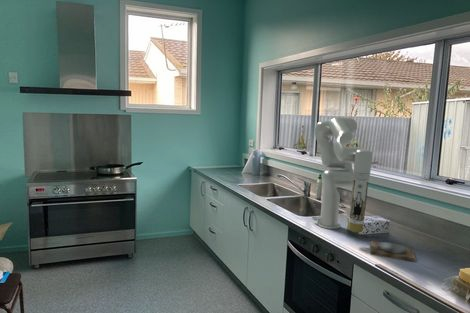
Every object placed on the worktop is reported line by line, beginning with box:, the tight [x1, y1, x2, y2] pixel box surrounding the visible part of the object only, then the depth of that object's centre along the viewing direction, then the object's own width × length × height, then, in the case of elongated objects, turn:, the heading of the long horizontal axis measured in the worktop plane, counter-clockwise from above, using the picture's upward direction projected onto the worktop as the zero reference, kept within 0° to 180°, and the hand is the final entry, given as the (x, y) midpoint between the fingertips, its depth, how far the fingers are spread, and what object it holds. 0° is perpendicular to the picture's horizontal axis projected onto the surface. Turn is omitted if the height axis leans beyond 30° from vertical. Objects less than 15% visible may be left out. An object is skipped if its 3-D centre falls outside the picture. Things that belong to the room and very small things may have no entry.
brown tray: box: [370, 240, 416, 263], centre depth 166 cm, size 18×15×2 cm
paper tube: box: [347, 179, 370, 233], centre depth 171 cm, size 7×7×25 cm
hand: (357, 212), depth 172 cm, fingers closed on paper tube, 6 cm apart
